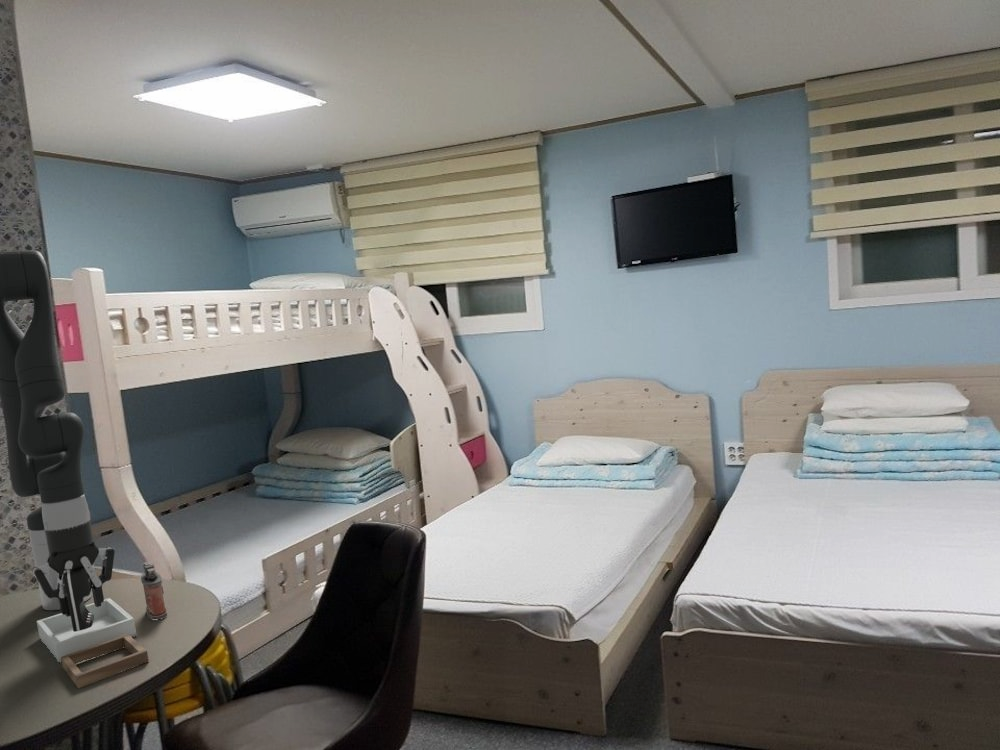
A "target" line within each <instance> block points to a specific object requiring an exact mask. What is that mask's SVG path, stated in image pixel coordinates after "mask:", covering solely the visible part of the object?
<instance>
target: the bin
mask: <svg viewBox="0 0 1000 750" xmlns="http://www.w3.org/2000/svg"><path fill="white" fill-rule="evenodd" d="M85 607H86V608H87V610H88V611H89V612H90V613H92V614H94V621H93V625H92V626H91V627H90V628H87V629H84V630H80V631H78V632H77V631H76V632H74V631H73V626H72V621H71V616H69V617H67V616H66V615H63V614H62V613H61V612H60V613H57V614H55V615H52V616H49V617H48V616H47V617H45V618H42V619H38V620H36V626H37V631H38V636H39V640H40V639H41V640H40V641H41V642H42V643H43V645H44V644H45V645H46V646H47V647H46V646H45V645H44V646H45V647H46V648H48V649H49V650H50V651H49V650H48V651H49V652H50V653H52V654H53V655H54V656H53V655H52V654H51V655H52V656H53V658H54V657H55V658H56V659H57V660H58V661H59V662H61V657H62V656H65V655H68V654H71V653H74V652H77V651H79V650H82V649H85V648H88V647H91V646H94V645H97V644H100V643H103V642H105V641H108V640H111V639H114V638H117V637H120V636H123V635H126V634H129V635H130V636H131V637H134V636H137V629H136V623H135V618H134V617H133V616H132V615H130V614H129V613H128V612H127V611H125V610H124V609H123V608H122V607H121V606H120V605H119V604H117V603H116V602H115V601H114V600H112V599H111V598H110V597H108V598H104V601H103V602H102V603H101V606H100V607H96V606H95V604H94V602H93V603H90V604H86V605H85ZM137 637H138V636H137ZM134 638H135V637H134ZM55 658H54V659H55ZM56 659H55V660H56ZM57 660H56V661H57ZM58 661H57V662H58Z"/></svg>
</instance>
